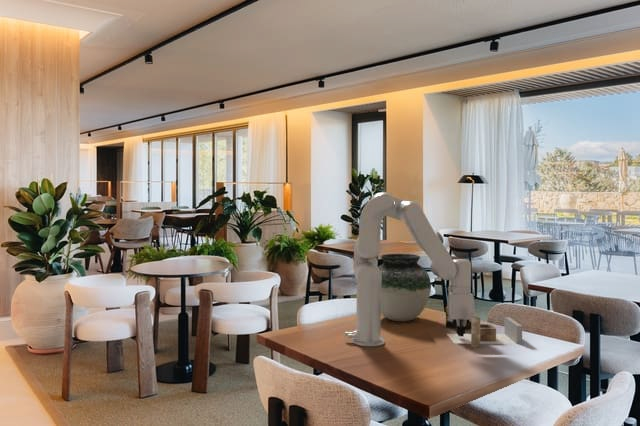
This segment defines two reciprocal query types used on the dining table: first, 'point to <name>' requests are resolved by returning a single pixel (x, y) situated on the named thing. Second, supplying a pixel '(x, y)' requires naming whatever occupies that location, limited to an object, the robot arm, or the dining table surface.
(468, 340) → the board
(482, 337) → the brown square wooden frame
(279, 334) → the dining table surface
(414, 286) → the vase
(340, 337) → the dining table surface
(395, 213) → the robot arm
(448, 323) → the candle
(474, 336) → the dowel
